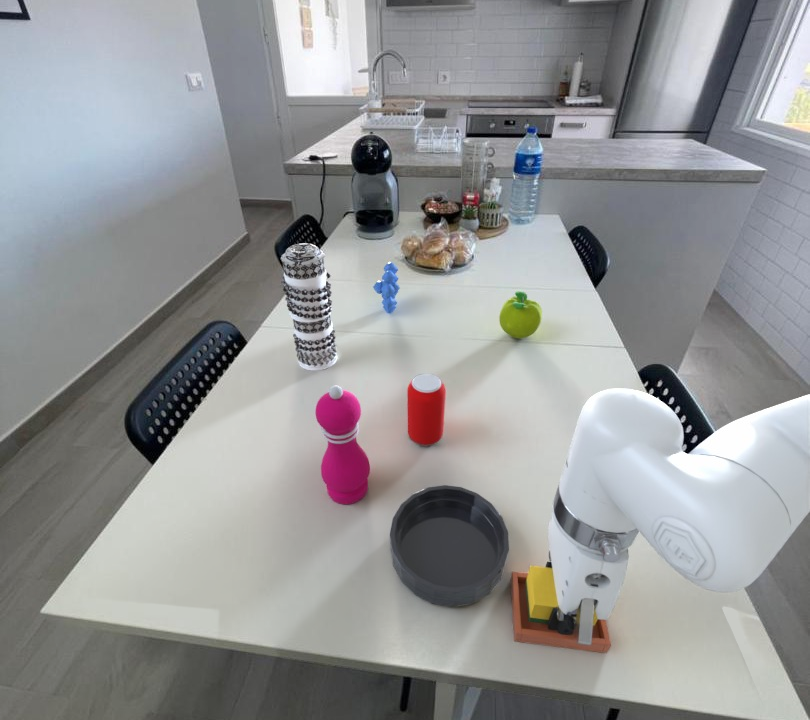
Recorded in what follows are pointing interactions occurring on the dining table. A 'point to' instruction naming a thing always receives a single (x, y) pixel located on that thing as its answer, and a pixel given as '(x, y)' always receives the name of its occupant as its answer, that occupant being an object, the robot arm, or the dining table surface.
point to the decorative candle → (309, 306)
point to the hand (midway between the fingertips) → (558, 604)
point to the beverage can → (425, 409)
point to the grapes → (388, 287)
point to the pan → (449, 545)
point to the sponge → (542, 594)
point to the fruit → (520, 316)
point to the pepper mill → (342, 446)
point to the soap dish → (540, 631)
